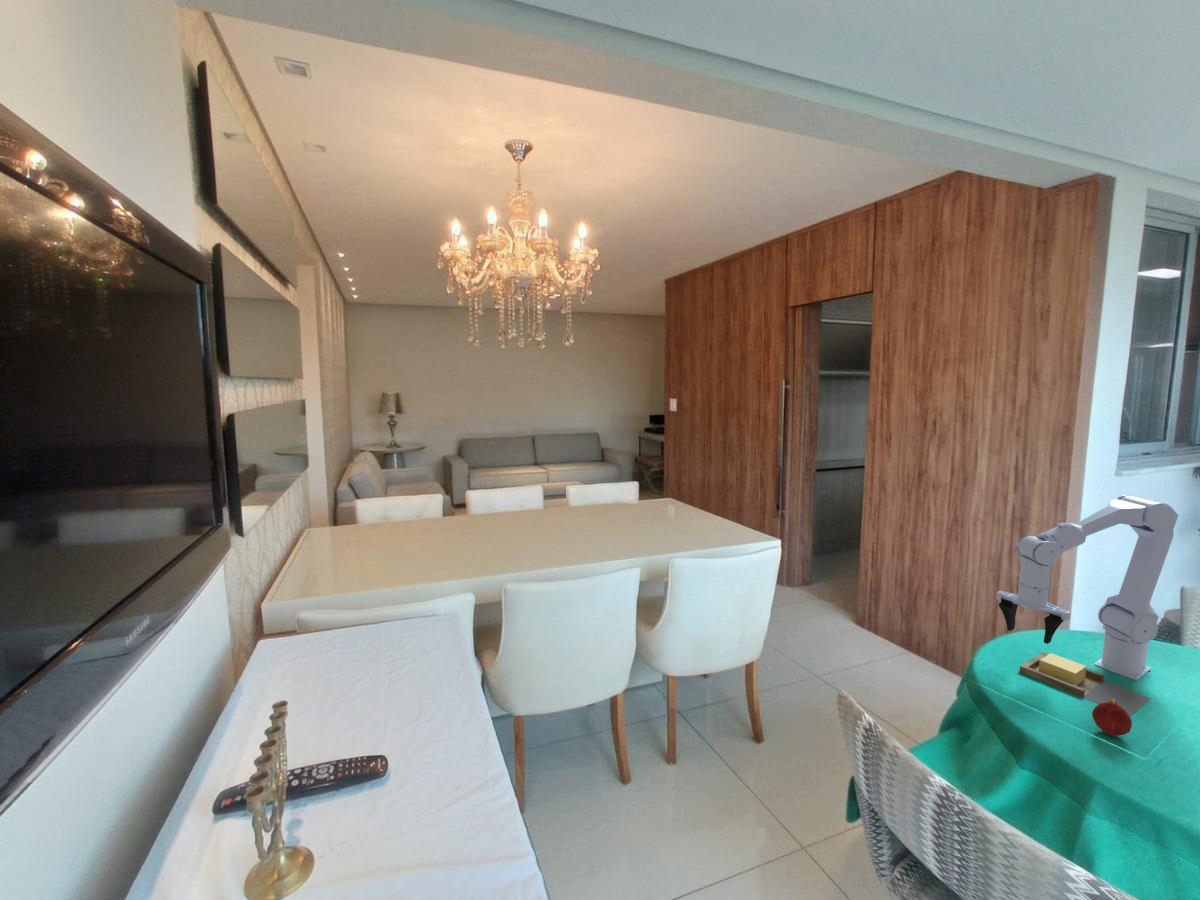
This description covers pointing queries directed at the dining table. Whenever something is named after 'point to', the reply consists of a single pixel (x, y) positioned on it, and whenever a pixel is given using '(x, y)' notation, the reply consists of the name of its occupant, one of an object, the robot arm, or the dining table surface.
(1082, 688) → the brown wooden tray
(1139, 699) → the mat
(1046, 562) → the robot arm
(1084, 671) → the block
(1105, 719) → the onion
